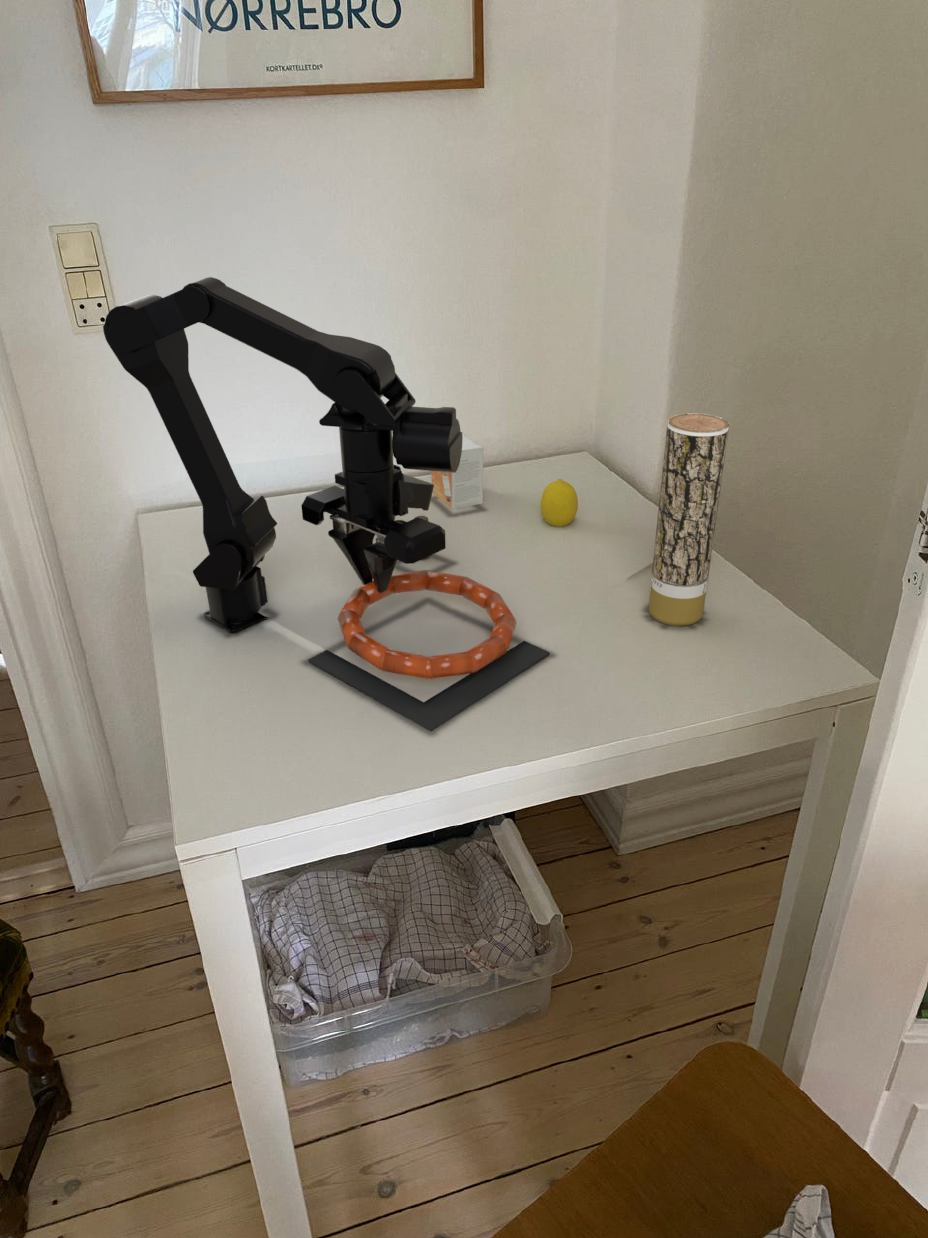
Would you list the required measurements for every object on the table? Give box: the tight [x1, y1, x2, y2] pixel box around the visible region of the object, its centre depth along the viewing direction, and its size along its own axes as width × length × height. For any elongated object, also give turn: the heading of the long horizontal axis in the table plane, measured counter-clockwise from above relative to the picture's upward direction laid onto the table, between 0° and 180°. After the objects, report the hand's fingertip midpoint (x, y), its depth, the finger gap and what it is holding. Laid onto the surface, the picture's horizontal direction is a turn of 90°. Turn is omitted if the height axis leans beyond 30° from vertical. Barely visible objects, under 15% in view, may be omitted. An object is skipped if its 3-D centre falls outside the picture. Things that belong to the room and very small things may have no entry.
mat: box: [307, 640, 550, 732], centre depth 108 cm, size 20×20×1 cm
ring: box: [337, 569, 517, 680], centre depth 105 cm, size 20×20×2 cm
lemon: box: [539, 478, 579, 528], centre depth 137 cm, size 6×6×8 cm
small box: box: [431, 432, 485, 510], centre depth 145 cm, size 8×6×10 cm
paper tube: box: [648, 412, 730, 627], centre depth 110 cm, size 7×7×25 cm
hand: (375, 588), depth 110 cm, fingers closed on ring, 2 cm apart
